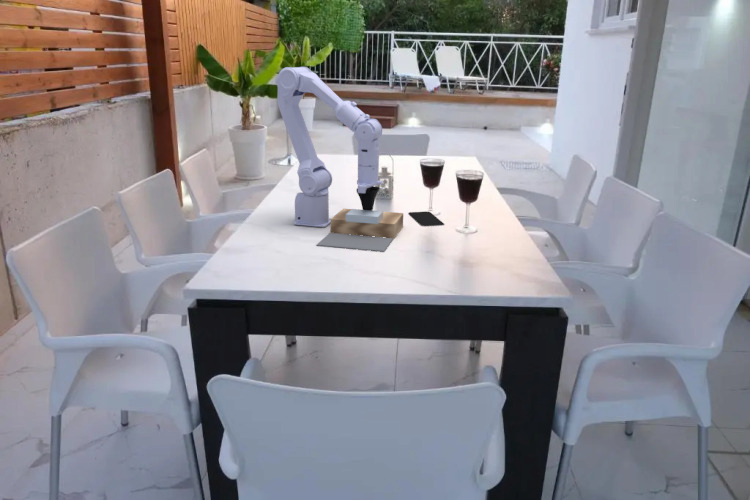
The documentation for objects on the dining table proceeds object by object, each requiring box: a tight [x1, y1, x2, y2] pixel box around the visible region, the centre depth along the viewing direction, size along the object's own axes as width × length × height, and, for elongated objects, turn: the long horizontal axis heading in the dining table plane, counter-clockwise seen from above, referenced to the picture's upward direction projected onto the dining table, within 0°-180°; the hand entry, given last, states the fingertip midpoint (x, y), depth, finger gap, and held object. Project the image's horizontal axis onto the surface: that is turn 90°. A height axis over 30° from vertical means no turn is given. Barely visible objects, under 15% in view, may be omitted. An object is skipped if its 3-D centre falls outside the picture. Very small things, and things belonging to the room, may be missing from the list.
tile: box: [346, 208, 384, 224], centre depth 162 cm, size 9×6×2 cm, turn 76°
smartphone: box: [408, 211, 445, 227], centre depth 179 cm, size 7×1×15 cm
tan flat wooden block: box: [330, 208, 404, 239], centre depth 166 cm, size 18×12×4 cm, turn 76°
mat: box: [315, 232, 394, 253], centre depth 155 cm, size 18×11×1 cm, turn 76°
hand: (367, 213), depth 165 cm, fingers closed
